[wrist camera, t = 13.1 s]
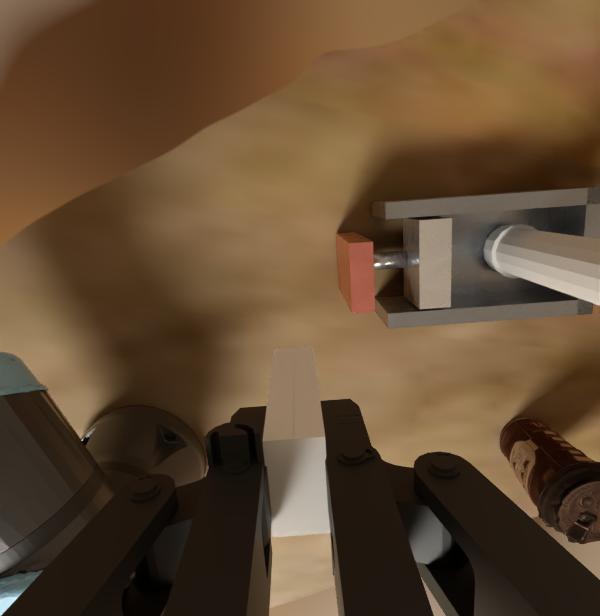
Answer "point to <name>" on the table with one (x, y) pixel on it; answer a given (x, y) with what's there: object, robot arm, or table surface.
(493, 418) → the table surface
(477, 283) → the grey open box
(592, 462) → the coffee cup
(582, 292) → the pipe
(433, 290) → the jaw
